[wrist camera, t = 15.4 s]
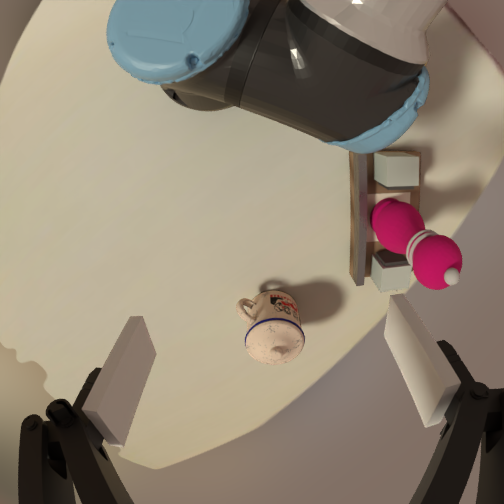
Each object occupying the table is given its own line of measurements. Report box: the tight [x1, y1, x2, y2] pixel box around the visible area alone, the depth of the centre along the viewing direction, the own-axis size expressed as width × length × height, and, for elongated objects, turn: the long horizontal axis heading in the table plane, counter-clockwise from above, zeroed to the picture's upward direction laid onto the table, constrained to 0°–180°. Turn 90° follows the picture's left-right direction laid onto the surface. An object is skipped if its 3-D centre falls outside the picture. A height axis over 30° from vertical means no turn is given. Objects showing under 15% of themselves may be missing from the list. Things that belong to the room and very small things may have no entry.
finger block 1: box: [373, 152, 419, 190], centre depth 38 cm, size 5×5×5 cm
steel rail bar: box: [353, 153, 367, 286], centre depth 43 cm, size 20×1×2 cm, turn 6°
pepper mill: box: [370, 198, 462, 290], centre depth 34 cm, size 7×7×20 cm
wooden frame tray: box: [349, 151, 421, 278], centre depth 44 cm, size 20×11×2 cm, turn 6°
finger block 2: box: [370, 251, 412, 292], centre depth 44 cm, size 5×5×5 cm
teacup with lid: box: [236, 291, 305, 365], centre depth 47 cm, size 12×9×12 cm
